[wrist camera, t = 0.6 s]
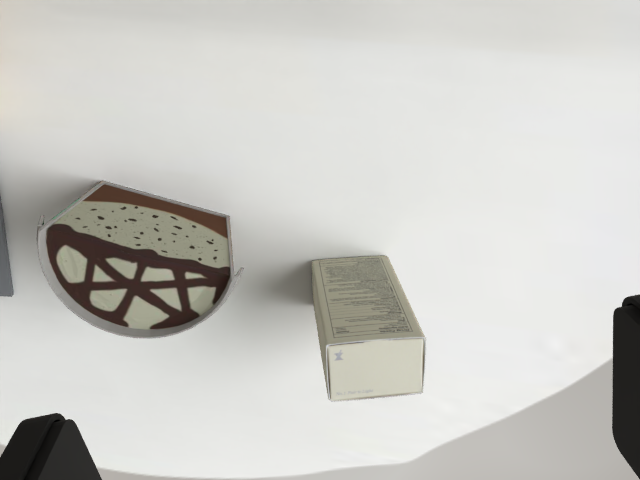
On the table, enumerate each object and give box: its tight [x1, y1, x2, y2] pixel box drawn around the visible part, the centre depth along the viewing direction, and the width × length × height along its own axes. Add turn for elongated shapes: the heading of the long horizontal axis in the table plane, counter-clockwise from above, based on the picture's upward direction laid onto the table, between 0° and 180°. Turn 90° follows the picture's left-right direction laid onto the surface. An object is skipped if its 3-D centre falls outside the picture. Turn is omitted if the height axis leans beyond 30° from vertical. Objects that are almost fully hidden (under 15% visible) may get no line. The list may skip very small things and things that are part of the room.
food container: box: [37, 181, 243, 338], centre depth 41 cm, size 12×6×10 cm, turn 72°
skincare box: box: [312, 256, 426, 401], centre depth 42 cm, size 6×4×12 cm
